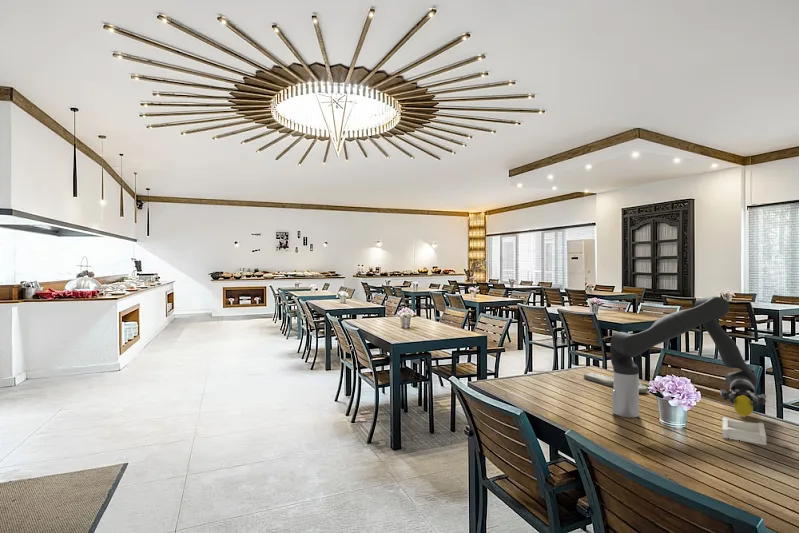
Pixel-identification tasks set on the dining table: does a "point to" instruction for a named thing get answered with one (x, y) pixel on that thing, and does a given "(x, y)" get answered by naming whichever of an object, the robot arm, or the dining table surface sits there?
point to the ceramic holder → (744, 431)
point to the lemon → (743, 405)
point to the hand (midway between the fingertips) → (743, 402)
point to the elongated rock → (609, 381)
